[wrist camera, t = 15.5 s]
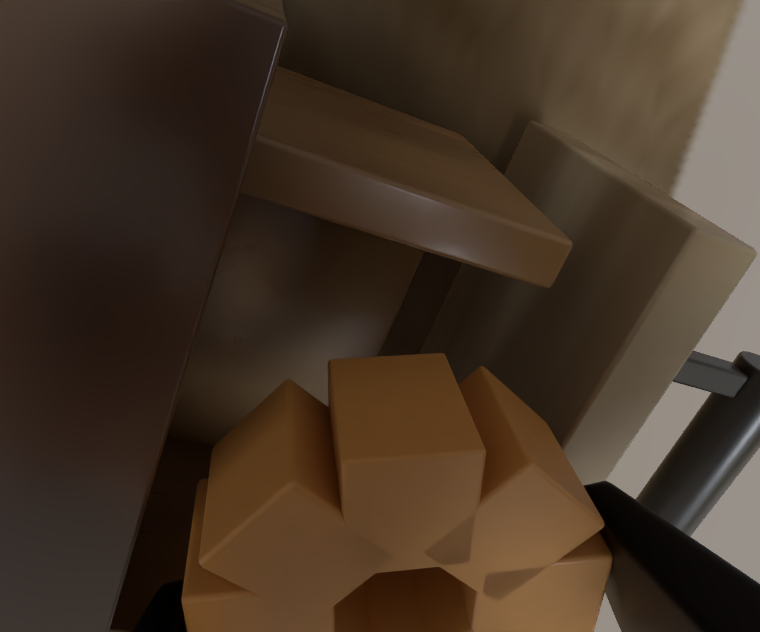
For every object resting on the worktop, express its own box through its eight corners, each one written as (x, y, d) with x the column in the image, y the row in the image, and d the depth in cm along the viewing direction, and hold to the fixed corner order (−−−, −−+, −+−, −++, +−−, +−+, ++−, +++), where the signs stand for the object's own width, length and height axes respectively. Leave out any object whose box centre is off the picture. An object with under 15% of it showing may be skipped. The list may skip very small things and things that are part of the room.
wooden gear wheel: (181, 366, 9) (156, 478, 7) (576, 343, 10) (650, 438, 8) (220, 634, 12) (210, 766, 10) (526, 600, 13) (572, 716, 11)
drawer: (741, 202, 17) (996, 339, 11) (536, 524, 22) (637, 742, 16) (41, -75, 12) (-183, -100, 6) (-28, 418, 17) (-193, 677, 11)
